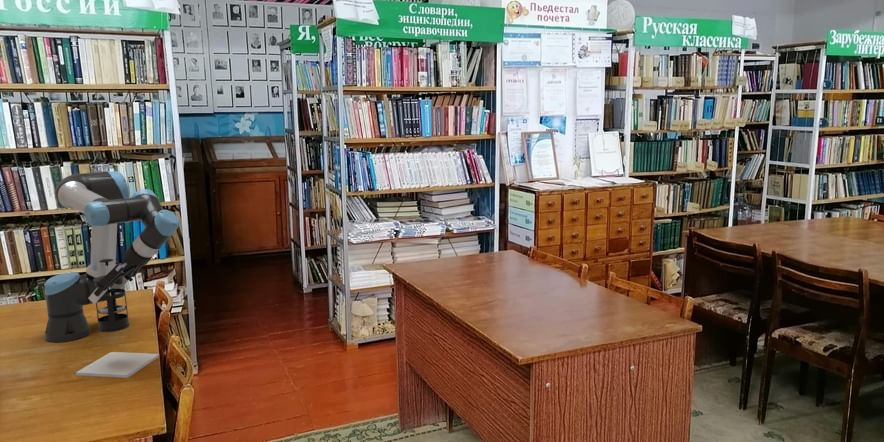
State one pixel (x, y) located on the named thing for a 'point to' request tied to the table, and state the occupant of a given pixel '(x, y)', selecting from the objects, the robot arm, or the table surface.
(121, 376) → the white square mat
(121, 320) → the french press
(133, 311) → the table surface
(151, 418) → the table surface
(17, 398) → the table surface
